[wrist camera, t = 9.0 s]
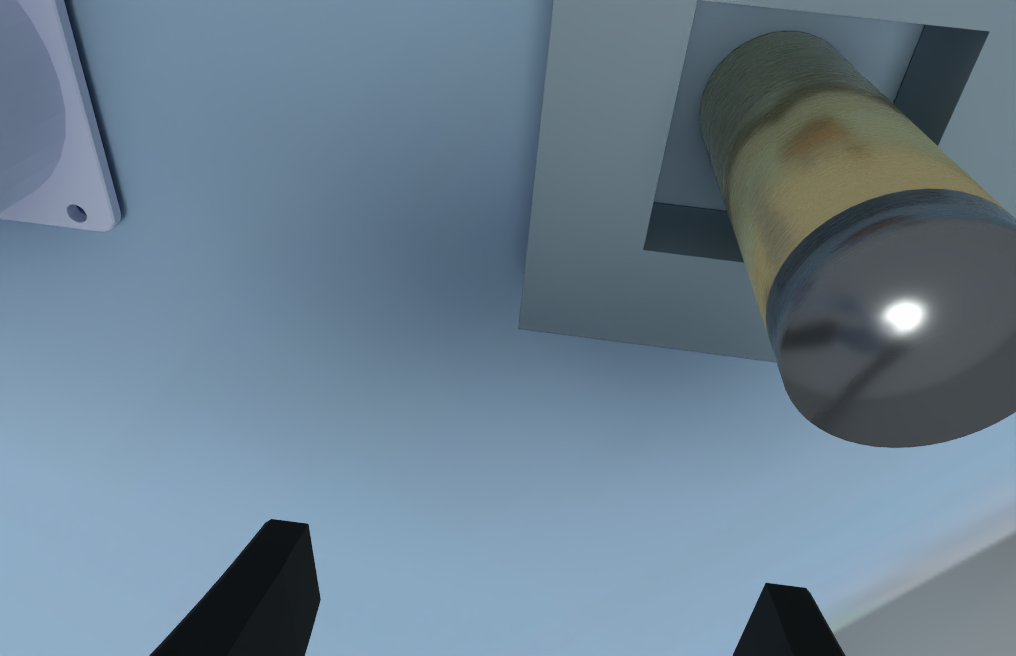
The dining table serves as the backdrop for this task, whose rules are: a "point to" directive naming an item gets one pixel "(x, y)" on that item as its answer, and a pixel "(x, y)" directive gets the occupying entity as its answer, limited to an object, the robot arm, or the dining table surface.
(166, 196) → the dining table surface
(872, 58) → the dining table surface
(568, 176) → the block
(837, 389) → the spice jar
